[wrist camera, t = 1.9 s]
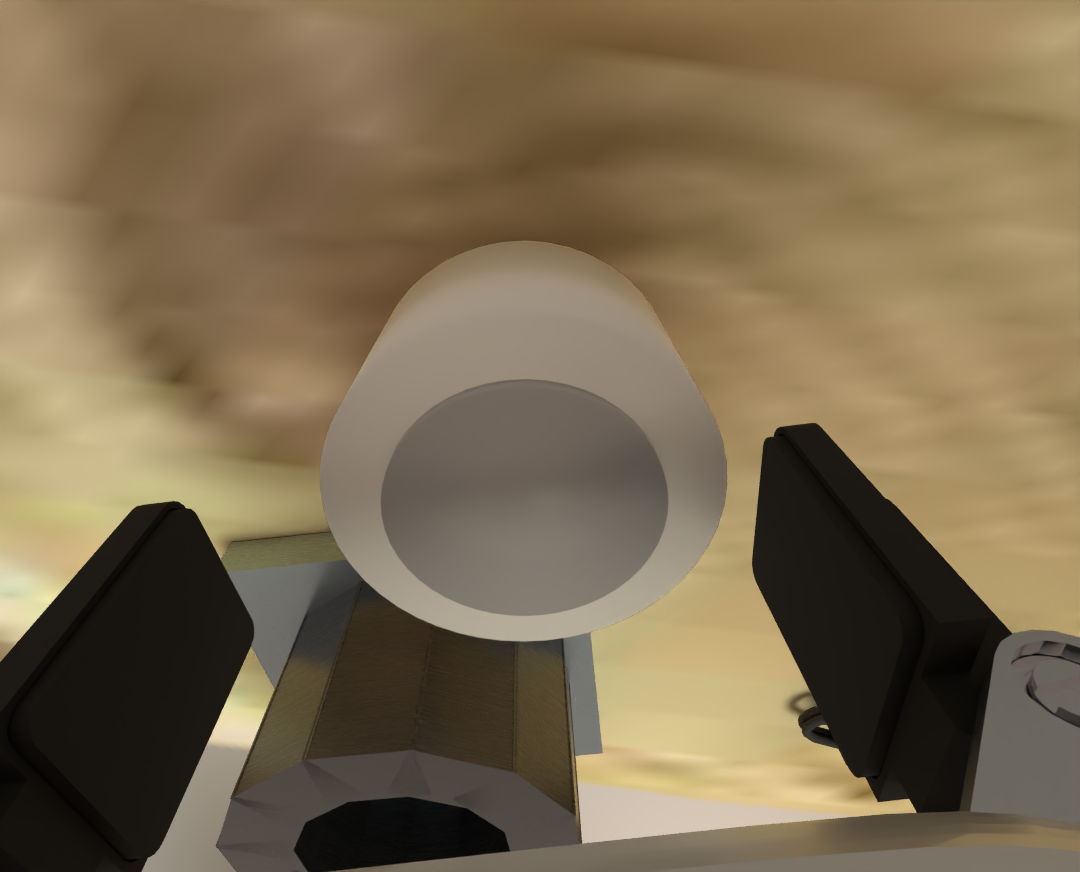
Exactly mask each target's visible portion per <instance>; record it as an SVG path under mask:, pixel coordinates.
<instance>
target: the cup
mask: <svg viewBox="0 0 1080 872" xmlns="http://www.w3.org/2000/svg"><path fill="white" fill-rule="evenodd" d="M320 489H321V497H322V505H323V508H324V512H325V515H326V518H327V522H328V525H329V528H330V530H331V532H332V534H333V536H334V538H335V540H336V542H337V545H338V546H339V548H340V549H341V551H342V552H343V554H344V555H345V557H346V559H347V560H348V562H349V563H350V564H351V565H352V567H353V568H354V569H355V570H356V571H357V572H358V574H359V575H360V576H361V577H362V578H363V579H364V580H365V581H366V582H367V583H368V584H369V585H370V586H371V587H373V588H374V589H375V590H376V591H377V592H378V593H379V594H380V595H382V596H383V597H385V598H386V599H387V600H389V601H390V602H392V603H393V604H395V605H396V606H397V607H399V608H401V609H403V610H404V611H406V612H408V613H410V614H412V615H413V616H415V617H417V618H419V619H422V620H424V621H426V622H428V623H431V624H433V625H435V626H438V627H441V628H444V629H447V630H450V631H454V632H457V633H460V634H465V635H469V636H474V637H479V638H485V639H493V640H501V641H544V640H553V639H560V638H567V637H572V636H576V635H581V634H585V633H589V632H592V631H595V630H598V629H601V628H604V627H607V626H610V625H613V624H615V623H617V622H620V621H622V620H624V619H626V618H629V617H631V616H633V615H634V614H636V613H638V612H640V611H641V610H643V609H645V608H647V607H648V606H650V605H652V604H653V603H654V602H656V601H657V600H658V599H660V598H661V597H663V596H664V595H665V594H667V593H668V592H669V591H670V590H671V589H672V588H674V587H675V586H676V585H677V584H678V583H679V582H680V581H681V580H682V579H683V578H684V577H685V576H686V575H687V574H688V573H689V571H690V570H691V569H692V568H693V567H694V566H695V564H696V563H697V562H698V561H699V559H700V558H701V556H702V555H703V553H704V552H705V550H706V548H707V547H708V545H709V544H710V542H711V539H712V537H713V535H714V533H715V531H716V529H717V527H718V524H719V521H720V518H721V514H722V511H723V508H724V503H725V496H726V489H727V461H726V456H725V450H724V445H723V440H722V437H721V435H720V432H719V429H718V426H717V424H716V421H715V418H714V417H713V415H712V413H711V411H710V409H709V408H708V406H707V404H706V402H705V400H704V399H703V397H702V395H701V393H700V392H699V390H698V388H697V386H696V384H695V383H694V381H693V379H692V377H691V375H690V374H689V372H688V370H687V368H686V367H685V365H684V363H683V361H682V359H681V358H680V356H679V354H678V352H677V351H676V349H675V347H674V345H673V343H672V342H671V340H670V338H669V336H668V334H667V333H666V331H665V329H664V327H663V326H662V324H661V322H660V320H659V318H658V317H657V315H656V313H655V311H654V310H653V308H652V306H651V305H650V303H649V302H648V301H647V300H646V298H645V297H644V296H643V294H642V293H641V292H640V290H638V289H637V288H636V287H635V286H634V285H633V284H632V283H631V282H630V281H629V280H628V279H627V278H626V277H625V276H624V275H622V274H621V273H619V272H618V271H617V270H615V269H614V268H613V267H611V266H610V265H608V264H607V263H605V262H603V261H601V260H599V259H597V258H595V257H593V256H592V255H590V254H587V253H584V252H581V251H579V250H576V249H573V248H571V247H567V246H562V245H558V244H553V243H548V242H537V241H509V242H500V243H495V244H490V245H484V246H480V247H477V248H474V249H472V250H469V251H466V252H463V253H460V254H458V255H456V256H454V257H452V258H450V259H448V260H446V261H444V262H442V263H441V264H439V265H438V266H436V267H435V268H434V269H432V270H431V271H429V272H428V273H426V274H425V275H424V276H423V277H422V278H421V279H420V280H418V281H417V282H416V283H415V284H414V285H413V286H412V287H411V288H410V289H409V290H408V291H407V293H406V294H405V295H404V296H403V298H402V299H401V300H400V301H399V303H398V304H397V306H396V307H395V309H394V311H393V313H392V314H391V316H390V318H389V319H388V321H387V323H386V325H385V326H384V328H383V330H382V332H381V334H380V335H379V337H378V339H377V341H376V342H375V344H374V346H373V348H372V350H371V351H370V353H369V355H368V357H367V359H366V360H365V362H364V364H363V366H362V367H361V369H360V371H359V373H358V375H357V376H356V378H355V380H354V382H353V384H352V385H351V387H350V389H349V391H348V392H347V394H346V396H345V398H344V400H343V401H342V403H341V405H340V407H339V409H338V410H337V412H336V414H335V416H334V418H333V420H332V423H331V425H330V428H329V431H328V433H327V436H326V438H325V442H324V447H323V452H322V457H321V462H320Z"/></svg>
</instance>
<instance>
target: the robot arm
mask: <svg viewBox="0 0 1080 872" xmlns="http://www.w3.org/2000/svg"><path fill="white" fill-rule="evenodd" d="M752 567H753V573H754V577H755V580H756V583H757V585H758V587H759V589H760V591H761V593H762V595H763V597H764V599H765V601H766V603H767V605H768V607H769V609H770V611H771V613H772V615H773V617H774V619H775V621H776V623H777V625H778V627H779V629H780V631H781V633H782V635H783V637H784V639H785V641H786V643H787V645H788V647H789V649H790V651H791V653H792V655H793V657H794V659H795V661H796V663H797V665H798V667H799V669H800V671H801V673H802V675H803V677H804V680H805V682H806V684H807V686H808V688H809V690H810V692H811V694H812V696H813V698H814V700H815V702H816V704H817V706H818V708H819V710H820V712H821V714H822V716H823V718H824V720H825V722H826V724H827V726H828V728H829V730H830V732H831V734H832V736H833V738H834V740H835V742H836V744H837V746H838V748H839V750H840V752H841V754H842V756H843V758H844V760H845V762H846V764H847V766H848V768H849V769H850V771H851V772H852V773H853V775H854V776H856V777H857V778H860V777H866V779H867V781H868V783H869V785H870V787H871V789H872V791H873V793H874V795H875V797H876V799H877V801H878V802H883V801H892V800H901V799H910V801H911V803H912V804H913V806H914V808H915V810H916V812H917V813H904V814H883V815H871V816H860V817H848V818H838V819H825V820H814V821H803V822H792V823H780V824H768V825H757V826H745V827H736V828H727V829H719V830H718V829H717V830H709V831H698V832H689V833H679V834H670V835H661V836H651V837H642V838H632V839H623V840H613V841H604V842H594V843H585V844H575V845H566V846H556V847H547V848H538V849H528V850H519V851H510V852H501V853H492V854H483V855H474V856H465V857H456V858H447V859H438V860H429V861H420V862H411V863H402V864H393V865H384V866H375V867H366V868H357V869H348V870H339V871H330V872H1080V638H1079V637H1075V636H1071V635H1067V634H1063V633H1059V632H1055V631H1041V630H1029V631H1023V632H1018V633H1013V634H1012V633H1011V632H1010V631H1009V630H1008V628H1007V627H1006V626H1005V625H1004V624H1003V623H1002V622H1001V621H1000V620H999V619H998V617H997V616H996V615H995V614H994V613H993V612H992V611H991V610H990V609H989V608H988V606H987V605H986V604H985V603H984V602H983V601H982V600H981V599H980V598H979V597H978V596H977V594H976V593H975V592H974V591H973V590H972V589H971V588H970V587H969V586H968V585H967V583H966V582H965V581H964V580H963V579H962V578H961V577H960V576H959V575H958V574H957V572H956V571H955V570H954V569H953V568H952V567H951V566H950V565H949V564H948V563H947V561H946V560H945V559H944V558H943V557H942V556H941V555H940V554H939V553H938V552H937V551H936V549H935V548H934V547H933V546H932V545H931V544H930V543H929V542H928V541H927V540H926V538H925V537H924V536H923V535H922V534H921V533H920V532H919V531H918V530H917V529H916V527H915V526H914V525H913V524H912V523H911V522H910V521H909V520H908V519H907V518H906V516H905V515H904V514H903V513H902V512H901V511H900V510H899V509H898V508H897V507H896V506H895V505H894V504H893V503H892V502H891V501H889V500H888V499H885V498H884V497H883V495H882V494H881V493H880V492H879V491H878V490H877V489H876V488H875V487H874V485H873V484H872V483H871V482H870V481H869V480H868V479H867V478H866V477H865V476H864V474H863V473H862V472H861V471H860V470H859V469H858V468H857V467H856V466H855V464H854V463H853V462H852V461H851V460H850V459H849V458H848V457H847V456H846V454H845V453H844V452H843V451H842V450H841V449H840V448H839V447H838V446H837V444H836V443H835V442H834V441H833V440H832V439H831V438H830V437H829V436H828V434H827V433H826V432H825V431H824V430H823V429H822V428H821V427H820V426H819V425H818V424H816V423H808V424H800V425H792V426H784V427H779V428H777V429H776V431H775V433H774V437H768V438H766V439H765V441H764V445H763V454H762V465H761V475H760V485H759V496H758V506H757V516H756V526H755V537H754V547H753V557H752ZM253 639H254V623H253V620H252V618H251V616H250V614H249V612H248V611H247V609H246V607H245V605H244V603H243V601H242V599H241V597H240V595H239V594H238V592H237V590H236V588H235V586H234V584H233V582H232V580H231V578H230V577H229V575H228V573H227V571H226V569H225V567H224V565H223V563H222V561H221V560H220V558H219V556H218V554H217V552H216V550H215V548H214V546H213V544H212V542H211V541H210V539H209V537H208V535H207V533H206V531H205V529H204V527H203V525H202V524H201V522H200V520H199V518H198V516H197V515H196V513H195V512H194V511H193V510H191V509H188V508H187V509H186V508H185V506H184V505H182V504H181V503H180V502H175V501H172V502H163V503H155V504H147V505H141V506H137V507H135V508H134V509H133V510H132V511H131V512H130V513H129V514H128V515H127V516H126V518H125V519H124V520H123V521H122V522H121V523H120V525H119V526H118V527H117V528H116V529H115V530H114V531H113V533H112V534H111V535H110V536H109V537H108V538H107V540H106V541H105V542H104V543H103V544H102V545H101V546H100V548H99V549H98V550H97V551H96V552H95V553H94V555H93V556H92V557H91V558H90V559H89V560H88V561H87V563H86V564H85V565H84V566H83V567H82V568H81V570H80V571H79V572H78V573H77V574H76V575H75V576H74V578H73V579H72V580H71V581H70V582H69V583H68V585H67V586H66V587H65V588H64V589H63V590H62V591H61V593H60V594H59V595H58V596H57V597H56V598H55V600H54V601H53V602H52V603H51V604H50V605H49V607H48V608H47V609H46V610H45V611H44V612H43V613H42V615H41V616H40V617H39V618H38V619H37V620H36V622H35V623H34V624H33V625H32V626H31V627H30V628H29V630H28V631H27V632H26V633H25V634H24V635H23V637H22V638H21V639H20V640H19V641H18V642H17V643H16V645H15V646H14V647H13V648H12V649H11V650H10V652H9V653H8V654H7V655H6V656H5V657H4V658H3V660H2V661H1V662H0V872H141V871H142V869H143V867H144V865H145V863H146V861H147V858H148V857H150V856H152V855H154V854H155V853H156V851H157V850H158V849H159V848H160V846H161V844H162V842H163V840H164V838H165V836H166V834H167V832H168V829H169V827H170V825H171V823H172V820H173V818H174V816H175V814H176V812H177V809H178V807H179V805H180V803H181V800H182V798H183V796H184V794H185V792H186V789H187V787H188V785H189V783H190V780H191V778H192V776H193V774H194V771H195V769H196V767H197V765H198V763H199V760H200V758H201V756H202V754H203V751H204V749H205V747H206V745H207V743H208V740H209V738H210V736H211V734H212V731H213V729H214V727H215V725H216V723H217V720H218V718H219V716H220V714H221V711H222V709H223V707H224V705H225V703H226V700H227V698H228V696H229V694H230V691H231V689H232V687H233V685H234V683H235V680H236V678H237V676H238V674H239V671H240V669H241V667H242V665H243V662H244V660H245V658H246V656H247V654H248V651H249V649H250V647H251V645H252V642H253Z"/></svg>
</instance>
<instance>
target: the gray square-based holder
mask: <svg viewBox="0 0 1080 872" xmlns="http://www.w3.org/2000/svg"><path fill="white" fill-rule="evenodd" d="M221 561H222V563H223V565H224V567H225V569H226V571H227V573H228V575H229V577H230V578H231V580H232V582H233V584H234V586H235V588H236V590H237V592H238V594H239V595H240V597H241V599H242V601H243V603H244V605H245V607H246V609H247V611H248V612H249V614H250V616H251V618H252V620H253V623H254V639H253V642H252V645H251V646H252V648H253V650H254V652H255V654H256V655H257V657H258V659H259V661H260V663H261V665H262V666H263V668H264V670H265V672H266V674H267V676H268V677H269V679H270V681H271V683H272V685H273V687H274V688H275V690H274V692H273V695H272V697H271V700H270V702H269V705H268V707H267V709H266V712H265V714H264V717H263V719H262V722H261V724H260V727H259V729H258V732H257V734H256V737H255V739H254V741H253V744H252V746H251V749H250V751H249V754H248V756H247V759H246V761H245V764H244V766H243V768H242V771H241V773H240V776H239V778H238V781H237V783H236V786H235V788H234V791H233V793H232V795H231V798H230V799H231V802H230V805H229V808H228V812H227V815H226V818H225V821H224V825H223V828H222V831H221V834H220V836H219V839H218V841H217V844H216V847H217V848H218V849H219V850H220V852H221V853H222V854H223V855H224V856H225V858H226V859H227V860H228V862H229V863H230V864H231V865H232V867H233V868H234V869H235V870H236V872H330V871H339V870H348V869H357V868H366V867H375V866H384V865H393V864H402V863H411V862H420V861H429V860H438V859H447V858H456V857H465V856H474V855H483V854H492V853H501V852H510V851H519V850H528V849H538V848H547V847H556V846H566V845H575V844H582V838H581V824H580V812H579V799H578V785H577V772H576V759H575V756H576V755H587V754H599V753H602V743H601V733H600V724H599V714H598V704H597V695H596V685H595V675H594V665H593V656H592V646H591V636H590V632H589V633H585V634H581V635H576V636H572V637H567V638H560V639H553V640H544V641H501V640H493V639H485V638H479V637H474V636H469V635H465V634H460V633H457V632H454V631H450V630H447V629H444V628H441V627H438V626H435V625H433V624H431V623H428V622H426V621H424V620H422V619H419V618H417V617H415V616H413V615H412V614H410V613H408V612H406V611H404V610H403V609H401V608H399V607H397V606H396V605H395V604H393V603H392V602H390V601H389V600H387V599H386V598H385V597H383V596H382V595H380V594H379V593H378V592H377V591H376V590H375V589H374V588H373V587H371V586H370V585H369V584H368V583H367V582H366V581H365V580H364V579H363V578H362V577H361V576H360V575H359V574H358V572H357V571H356V570H355V569H354V568H353V567H352V565H351V564H350V563H349V562H348V560H347V559H346V557H345V555H344V554H343V552H342V551H341V549H340V548H339V546H338V545H337V542H336V540H335V538H334V536H333V534H332V532H327V533H317V534H308V535H298V536H289V537H280V538H270V539H261V540H251V541H242V542H232V543H231V544H230V546H229V547H228V549H227V550H226V552H225V554H224V555H223V557H222V558H221Z"/></svg>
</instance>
